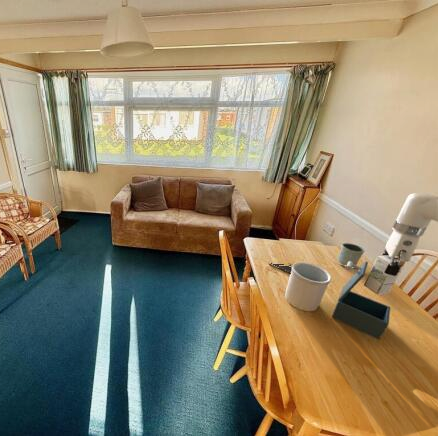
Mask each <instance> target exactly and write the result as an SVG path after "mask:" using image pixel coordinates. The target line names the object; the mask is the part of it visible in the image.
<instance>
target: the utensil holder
mask: <svg viewBox="0 0 438 436" xmlns="http://www.w3.org/2000/svg"><path fill="white" fill-rule="evenodd" d="M292 265H293V266H292V271H291V274H290V273H289V278H288V281H287V284H286V288H285V292H284V293H285V294H284V297H285V300H286V301H287V302H288V303H289V304H290V305H291V306H292V307H294V308H296V309H298V310H301V311H304V312H314V311H316V310H317V309H318V308H319V306H320V303H321V301H322V300H323V297H324V295H325V293H326V290H327V288H328V286H329V284H330V283H331V281H332V275H331V274H330V272H329V271H328V270H326V269H324V268H323V267H321V266H319V265H316V264H315V263H311V262H304V261H299V262H295V263H293V264H292Z"/></svg>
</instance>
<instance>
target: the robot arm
mask: <svg viewBox="0 0 438 436" xmlns="http://www.w3.org/2000/svg"><path fill="white" fill-rule="evenodd" d="M431 221H435V222H436V223H438V196H437V195H434V194H429V193H423V192H414V193H411V194H409V195H408V196H407V198H406V200H405V202H404V203H403V205H402V207H401V209H400V211H399V214H398V216H397V218H396V219H395V222H394V223H393V226H392V228H391V229H392V230H393V231H392V233H391V234H390V236H389V238H388V240H387V241H386V244H385V249H384V250H383V253H382V254H381V256H383V255H389V256H390V257H391V262H390V264H388V266H387V268H386V270H385V271H384V273H385V274H389V275H393V276H396V275H397V274H398V272H399V270H400V268H401V267H402V265H403V264H404V263H405V264H406V262H407V263H408V262H410V260H411V259H412V257H413V255H414V253H415V250H416V248H417V246H418V244H419V240H420V237H423V235H424V234H425V232H426V230H427V229H428V227H429V226H430V223H431ZM394 260H398V262H397V261H396V262H394Z"/></svg>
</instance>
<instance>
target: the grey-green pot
mask: <svg viewBox="0 0 438 436" xmlns="http://www.w3.org/2000/svg"><path fill="white" fill-rule="evenodd" d="M364 253H365V248H363V247H361V246H360V245H357V244H355V243H350V242H349V243H348V242H344V243H342V244H341V248H340V251H339V253H338V254H339V255H338V257H337V260H338V261H339V262H340V263H341V264H343V265H346V266H347V263H348V262H349V261H351V262H353V264H355V265H357V266H358V262H359V260H360V259H361V258H362V256H363V254H364ZM352 267H354V266H352Z"/></svg>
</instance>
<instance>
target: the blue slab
mask: <svg viewBox="0 0 438 436" xmlns="http://www.w3.org/2000/svg"><path fill="white" fill-rule="evenodd" d="M368 264H369V261H364V263H362V264H361V266H359V265H358V264H357V265H355V264H353V262H351V261H349V262H348V263H347V266H346V268H345V269H346V270H347V271H352V272H354V274H353V275H352V276H351V277H350V279H349V280H348V281H347V282H346V283H345V285H343V286H342V289H341V291H340V294H339V296H338V299H337V302H338V301H339V302H340V301H341V300H342V299H343V298H344V297H345V296H346V295H347V294H348V293H349V292H350V291H352V290H353V289H354V288H355V286H356V285H358V283H359V282H360V281H362V279H363V278H364V277H365V275H366V271H367V268H368ZM352 266H354V267H355V268H356V269H355V268H352Z"/></svg>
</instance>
